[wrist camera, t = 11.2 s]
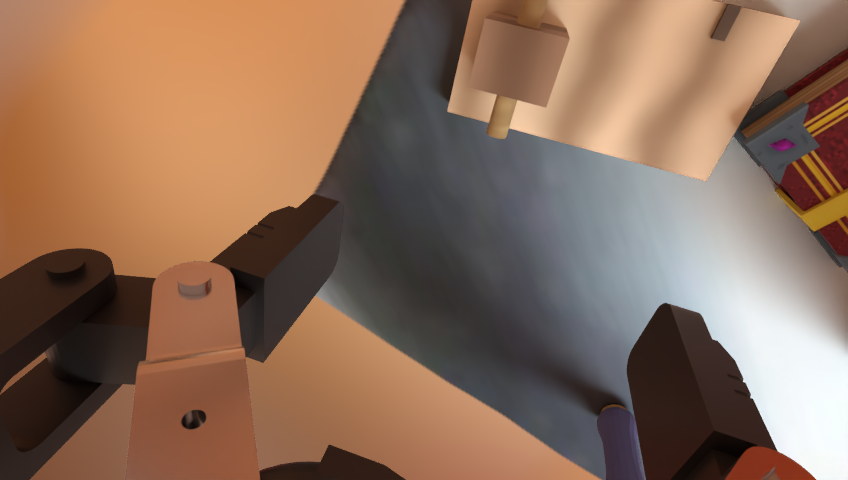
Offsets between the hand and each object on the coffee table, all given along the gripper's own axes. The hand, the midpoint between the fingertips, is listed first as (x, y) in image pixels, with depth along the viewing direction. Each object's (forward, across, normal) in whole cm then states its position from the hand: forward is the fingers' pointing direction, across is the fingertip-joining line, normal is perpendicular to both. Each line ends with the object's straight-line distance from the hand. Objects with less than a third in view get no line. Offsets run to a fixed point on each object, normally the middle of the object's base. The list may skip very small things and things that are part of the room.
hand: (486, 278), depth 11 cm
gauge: (+26, +1, -2) cm, 26 cm away
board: (+28, -4, -2) cm, 28 cm away
